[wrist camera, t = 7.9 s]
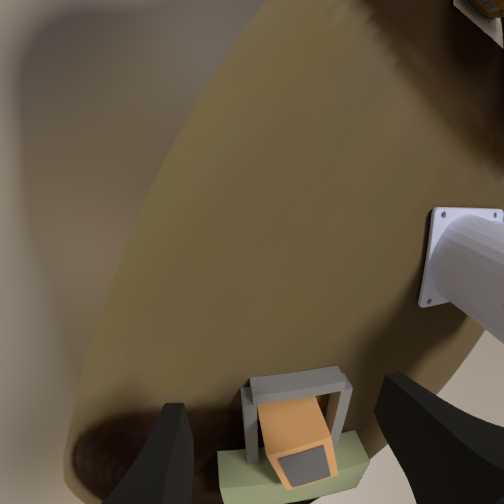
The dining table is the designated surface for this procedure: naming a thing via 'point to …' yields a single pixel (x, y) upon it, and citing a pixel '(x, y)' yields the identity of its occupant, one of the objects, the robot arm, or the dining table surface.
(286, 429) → the orange box grey panel
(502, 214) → the robot arm
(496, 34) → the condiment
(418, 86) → the dining table surface
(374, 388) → the dining table surface
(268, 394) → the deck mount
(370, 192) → the dining table surface
